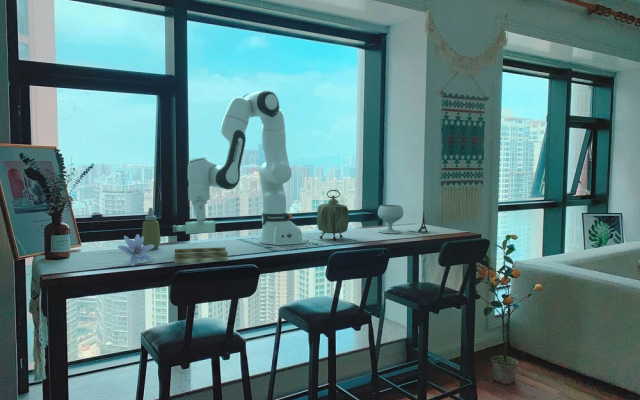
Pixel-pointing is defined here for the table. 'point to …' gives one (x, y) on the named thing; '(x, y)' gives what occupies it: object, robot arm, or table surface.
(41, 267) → the table surface
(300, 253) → the table surface
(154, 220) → the squeeze bottle
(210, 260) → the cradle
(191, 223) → the bottle
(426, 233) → the eiffel tower figurine
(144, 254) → the water lily
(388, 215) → the chalice
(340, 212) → the tabletop clock
